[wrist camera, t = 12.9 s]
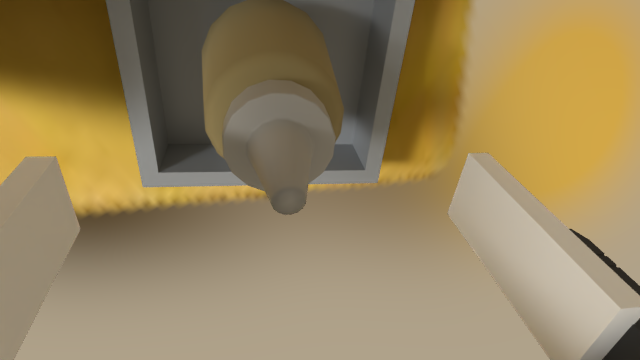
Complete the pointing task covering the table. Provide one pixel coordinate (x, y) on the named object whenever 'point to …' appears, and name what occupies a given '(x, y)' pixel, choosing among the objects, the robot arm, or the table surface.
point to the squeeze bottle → (271, 98)
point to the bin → (187, 84)
